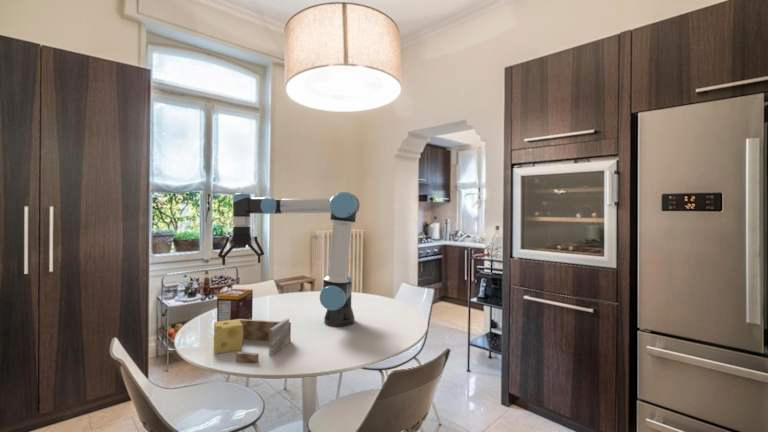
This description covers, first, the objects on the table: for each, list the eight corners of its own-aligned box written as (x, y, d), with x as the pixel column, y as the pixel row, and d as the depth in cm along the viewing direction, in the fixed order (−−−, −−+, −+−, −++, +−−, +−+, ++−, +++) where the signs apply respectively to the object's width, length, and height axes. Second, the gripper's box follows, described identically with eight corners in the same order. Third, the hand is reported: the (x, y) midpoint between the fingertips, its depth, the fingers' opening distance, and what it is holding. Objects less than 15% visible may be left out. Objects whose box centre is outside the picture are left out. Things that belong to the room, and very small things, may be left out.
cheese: (214, 354, 136) (214, 328, 136) (213, 345, 146) (213, 320, 146) (243, 350, 141) (243, 324, 141) (240, 341, 150) (240, 317, 150)
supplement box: (252, 319, 181) (253, 289, 181) (237, 329, 166) (237, 295, 166) (233, 318, 182) (233, 288, 182) (216, 328, 167) (216, 295, 167)
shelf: (290, 341, 151) (290, 317, 151) (262, 363, 128) (263, 336, 128) (237, 337, 155) (237, 314, 155) (201, 358, 132) (201, 331, 132)
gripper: (267, 225, 177) (267, 268, 177) (212, 226, 166) (212, 271, 166) (270, 226, 170) (270, 270, 170) (212, 226, 159) (212, 274, 159)
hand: (241, 271), depth 168 cm, fingers open, 13 cm apart
